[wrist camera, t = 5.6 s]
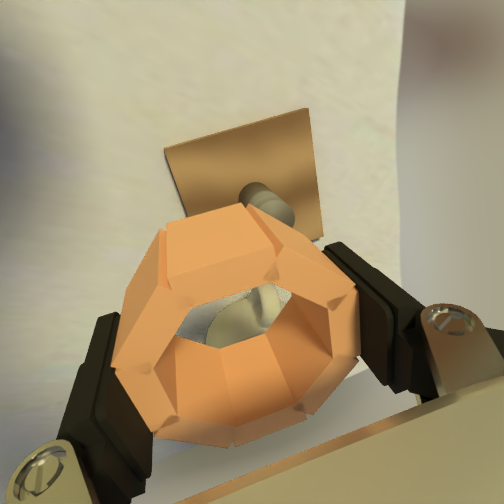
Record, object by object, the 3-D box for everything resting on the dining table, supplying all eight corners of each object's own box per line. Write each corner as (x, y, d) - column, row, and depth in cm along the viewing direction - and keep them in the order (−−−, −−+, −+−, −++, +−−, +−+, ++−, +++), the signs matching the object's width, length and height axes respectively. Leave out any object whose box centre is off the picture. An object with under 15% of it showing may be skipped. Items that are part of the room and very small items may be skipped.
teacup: (277, 358, 38) (303, 416, 32) (190, 360, 35) (198, 426, 28) (311, 260, 33) (351, 304, 26) (212, 250, 29) (228, 299, 22)
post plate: (163, 148, 24) (165, 164, 19) (304, 107, 26) (344, 112, 20) (208, 271, 30) (219, 311, 25) (319, 233, 32) (354, 262, 26)
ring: (98, 242, 10) (68, 307, 7) (301, 185, 11) (356, 220, 8) (169, 384, 13) (171, 472, 10) (319, 331, 14) (363, 397, 11)
